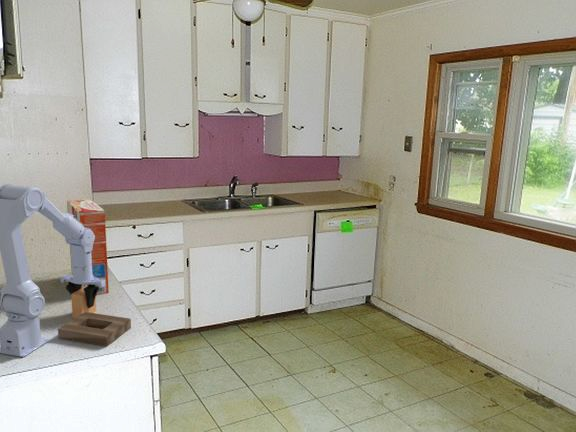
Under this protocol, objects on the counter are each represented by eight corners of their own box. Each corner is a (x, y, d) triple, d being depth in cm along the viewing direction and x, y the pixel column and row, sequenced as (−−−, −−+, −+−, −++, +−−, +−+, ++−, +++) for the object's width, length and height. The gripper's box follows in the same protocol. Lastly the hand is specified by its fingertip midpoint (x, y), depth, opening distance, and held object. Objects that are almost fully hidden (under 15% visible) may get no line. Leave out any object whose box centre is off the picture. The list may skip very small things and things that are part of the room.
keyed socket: (107, 346, 127) (106, 336, 127) (58, 338, 131) (57, 328, 130) (131, 327, 139) (130, 318, 138) (85, 320, 142) (85, 311, 142)
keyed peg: (96, 310, 150) (95, 287, 148) (82, 319, 143) (81, 295, 141) (87, 309, 150) (85, 286, 149) (72, 318, 144) (71, 294, 142)
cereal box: (108, 292, 164) (104, 210, 158) (84, 297, 160) (79, 212, 153) (93, 273, 183) (89, 199, 176) (71, 276, 178) (66, 200, 172)
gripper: (110, 263, 145) (112, 303, 148) (70, 258, 149) (72, 298, 151) (96, 270, 139) (98, 312, 142) (54, 265, 142) (57, 306, 145)
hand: (84, 305), depth 146 cm, fingers open, 4 cm apart
